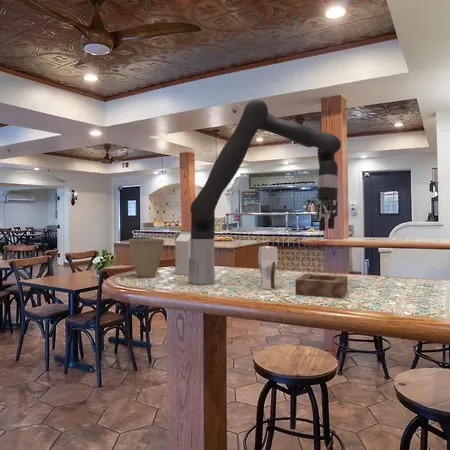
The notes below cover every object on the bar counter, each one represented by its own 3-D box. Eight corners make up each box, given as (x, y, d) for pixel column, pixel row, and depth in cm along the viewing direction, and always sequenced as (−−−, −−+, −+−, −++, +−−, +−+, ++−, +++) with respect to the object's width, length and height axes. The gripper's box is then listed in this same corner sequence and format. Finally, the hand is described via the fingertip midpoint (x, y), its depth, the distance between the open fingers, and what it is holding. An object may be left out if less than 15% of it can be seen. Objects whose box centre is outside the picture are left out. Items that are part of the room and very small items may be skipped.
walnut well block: (295, 294, 131) (295, 279, 131) (305, 287, 145) (305, 273, 145) (341, 298, 125) (341, 282, 125) (347, 290, 139) (347, 276, 139)
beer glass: (279, 286, 145) (279, 246, 145) (275, 290, 138) (275, 247, 138) (260, 285, 147) (261, 245, 147) (256, 289, 141) (256, 247, 140)
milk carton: (187, 275, 172) (187, 232, 171) (175, 274, 175) (175, 231, 175) (197, 273, 178) (197, 231, 177) (184, 272, 181) (185, 231, 181)
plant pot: (160, 279, 161) (160, 240, 161) (124, 279, 161) (124, 240, 161) (166, 273, 176) (166, 238, 176) (133, 273, 176) (133, 238, 176)
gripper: (311, 190, 158) (310, 230, 156) (325, 183, 144) (324, 227, 142) (329, 192, 159) (328, 232, 157) (345, 185, 145) (343, 228, 143)
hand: (326, 229), depth 150 cm, fingers open, 8 cm apart
